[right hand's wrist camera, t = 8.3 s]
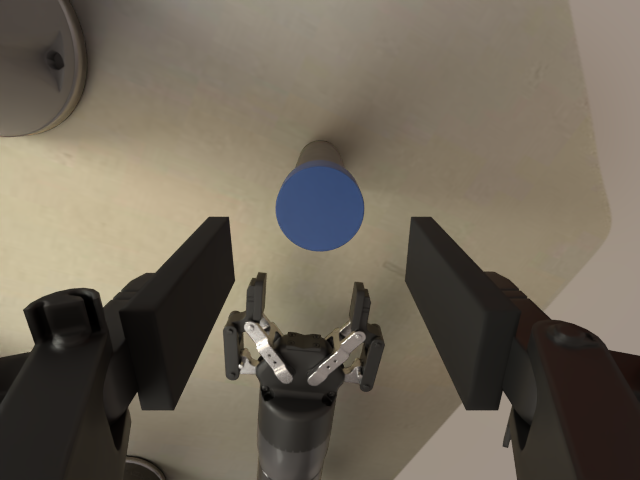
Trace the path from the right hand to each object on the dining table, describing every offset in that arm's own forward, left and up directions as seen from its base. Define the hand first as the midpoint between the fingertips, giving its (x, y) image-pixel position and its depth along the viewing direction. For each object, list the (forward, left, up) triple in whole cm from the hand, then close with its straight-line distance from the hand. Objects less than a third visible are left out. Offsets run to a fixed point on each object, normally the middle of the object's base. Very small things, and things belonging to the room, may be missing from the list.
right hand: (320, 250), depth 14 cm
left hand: (-5, -7, -15) cm, 17 cm away
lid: (0, 0, -6) cm, 6 cm away
